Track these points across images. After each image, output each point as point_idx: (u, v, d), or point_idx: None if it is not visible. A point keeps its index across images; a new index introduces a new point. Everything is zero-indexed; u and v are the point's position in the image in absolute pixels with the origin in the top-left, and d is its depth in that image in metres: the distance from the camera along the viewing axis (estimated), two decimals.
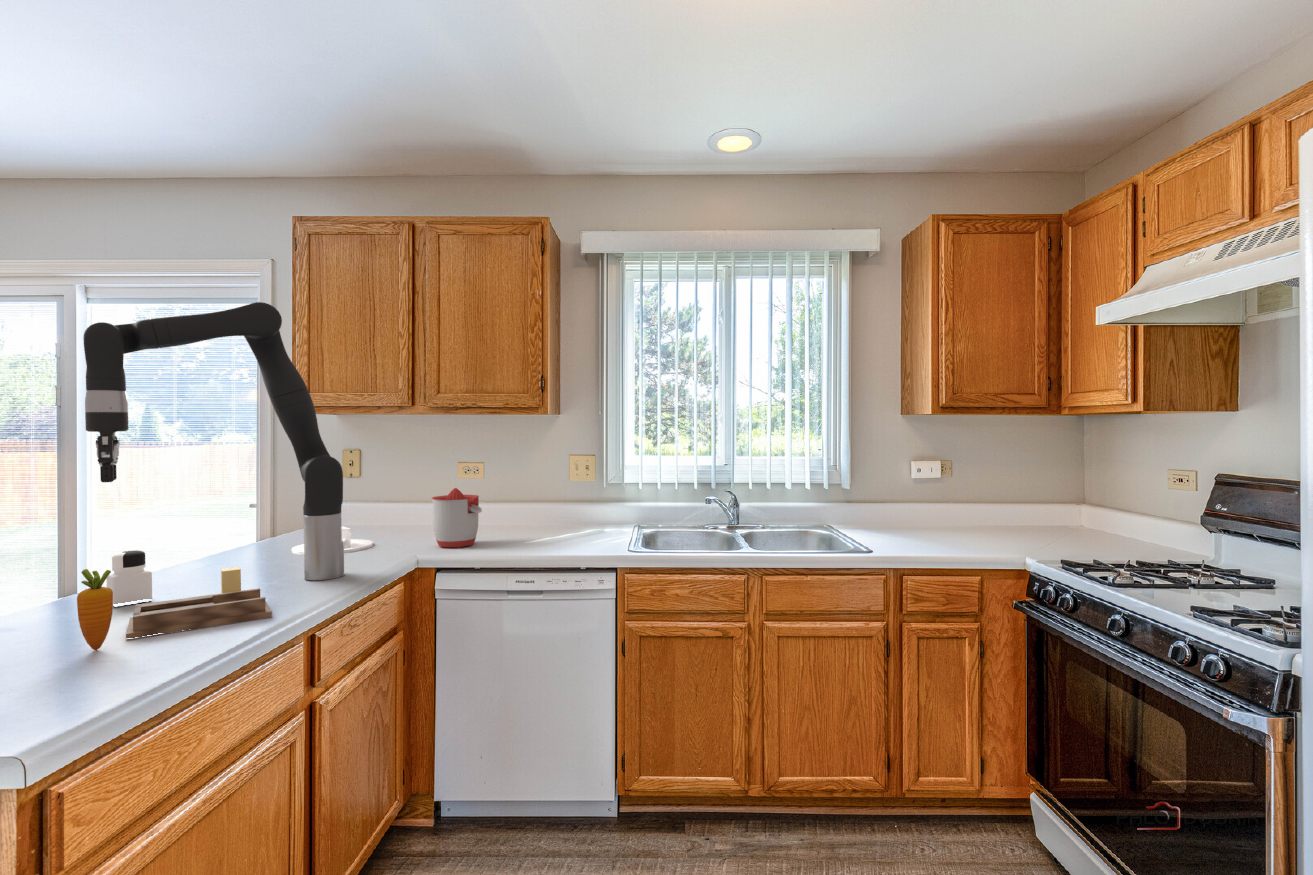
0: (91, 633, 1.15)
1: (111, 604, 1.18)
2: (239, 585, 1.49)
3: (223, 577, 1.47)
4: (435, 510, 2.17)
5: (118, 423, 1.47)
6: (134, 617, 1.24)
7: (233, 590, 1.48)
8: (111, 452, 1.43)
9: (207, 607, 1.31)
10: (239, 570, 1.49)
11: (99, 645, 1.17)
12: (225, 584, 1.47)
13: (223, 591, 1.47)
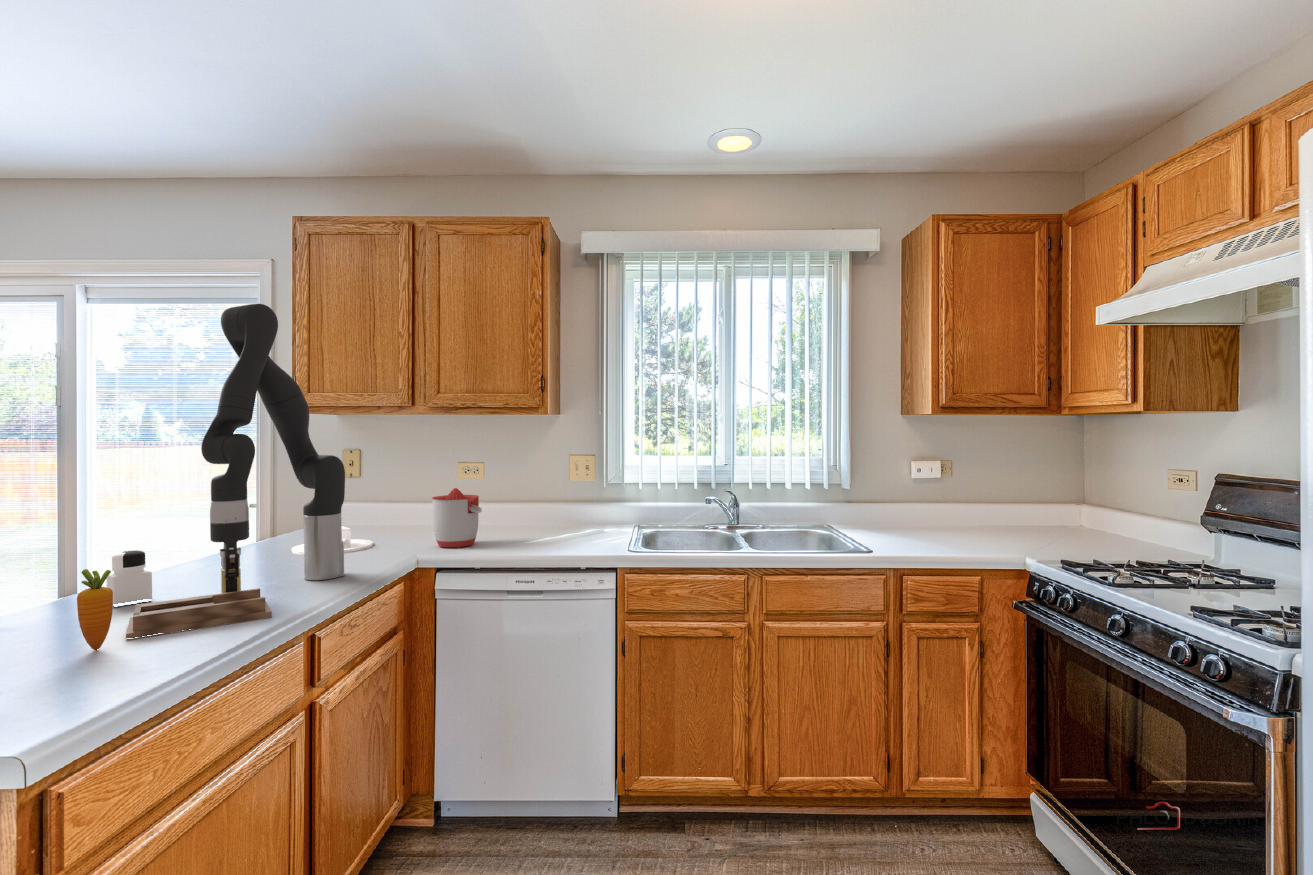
0: (91, 633, 1.15)
1: (111, 604, 1.18)
2: (239, 585, 1.49)
3: (223, 577, 1.47)
4: (435, 510, 2.17)
5: (241, 533, 1.48)
6: (134, 617, 1.24)
7: None
8: (237, 569, 1.46)
9: (207, 607, 1.31)
10: (239, 570, 1.49)
11: (99, 645, 1.17)
12: (225, 583, 1.47)
13: (223, 591, 1.47)
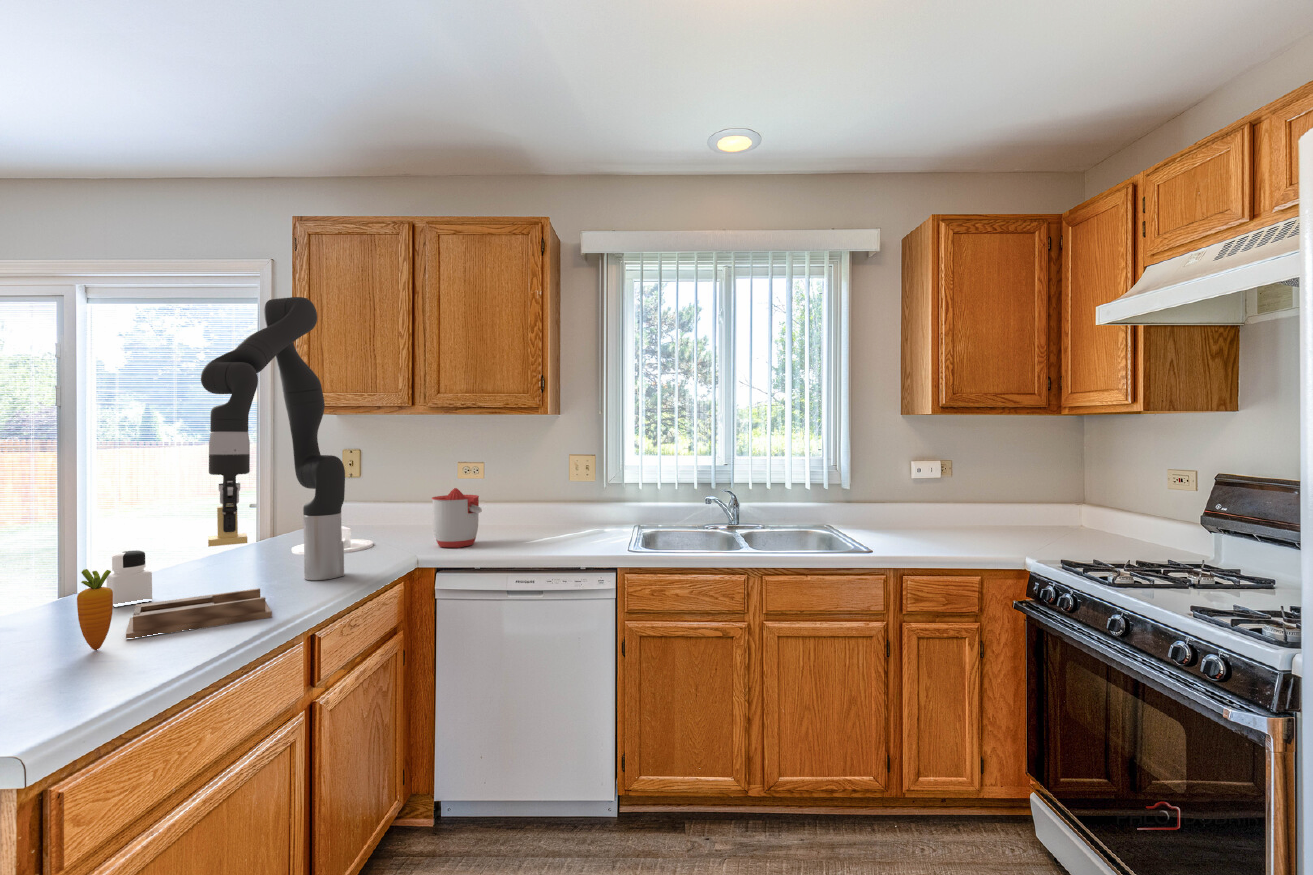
0: (91, 633, 1.15)
1: (111, 604, 1.18)
2: (236, 523, 1.41)
3: (219, 514, 1.39)
4: (435, 510, 2.17)
5: (241, 466, 1.40)
6: (134, 617, 1.24)
7: None
8: (235, 503, 1.38)
9: (207, 607, 1.31)
10: None
11: (99, 645, 1.17)
12: (221, 521, 1.39)
13: (218, 529, 1.39)
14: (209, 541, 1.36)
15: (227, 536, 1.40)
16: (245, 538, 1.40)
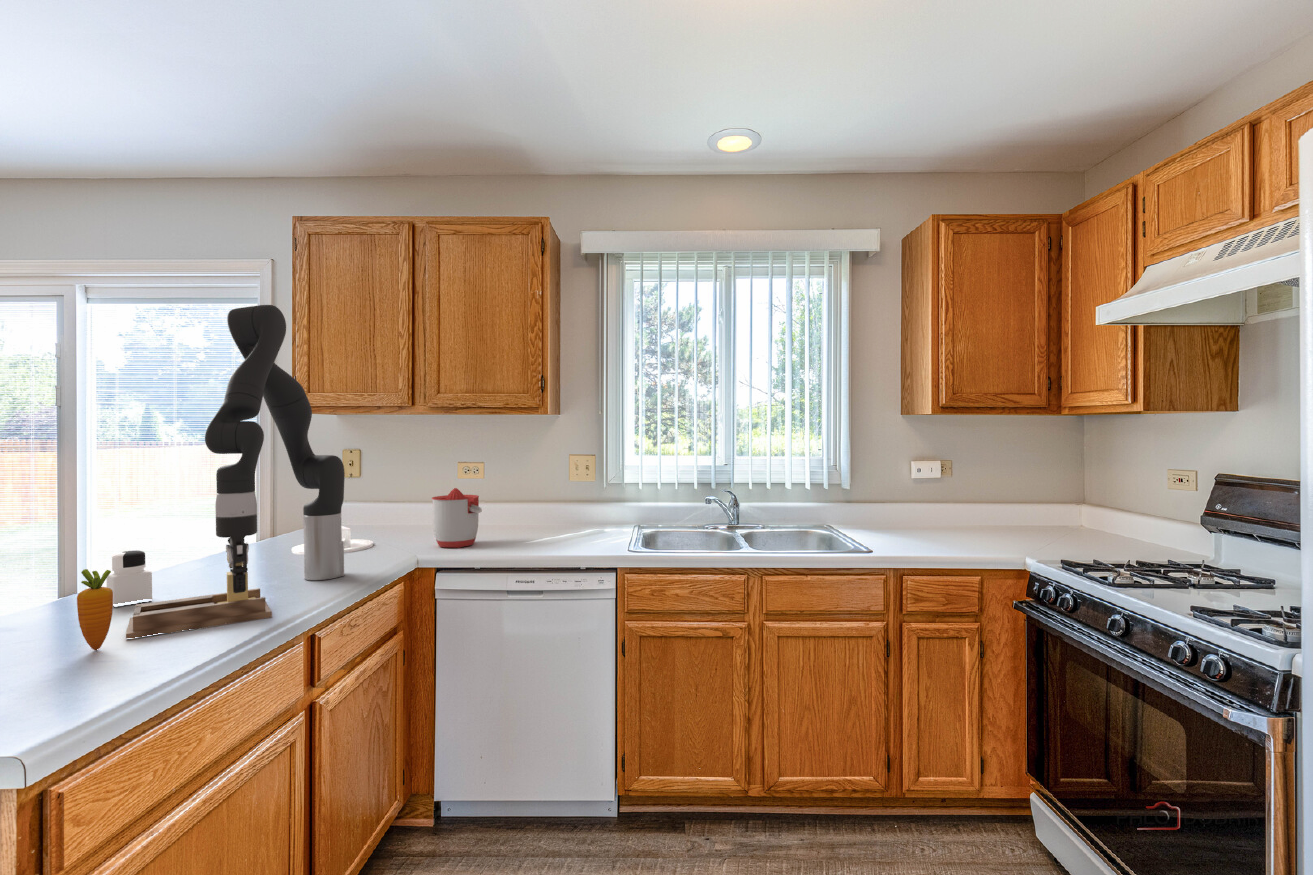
0: (91, 633, 1.15)
1: (111, 604, 1.18)
2: (246, 590, 1.39)
3: (229, 581, 1.37)
4: (435, 510, 2.17)
5: (249, 527, 1.38)
6: (134, 617, 1.24)
7: (240, 595, 1.38)
8: (245, 562, 1.34)
9: (207, 607, 1.31)
10: (246, 573, 1.39)
11: (99, 645, 1.17)
12: (231, 588, 1.37)
13: (229, 596, 1.37)
14: None
15: None
16: None
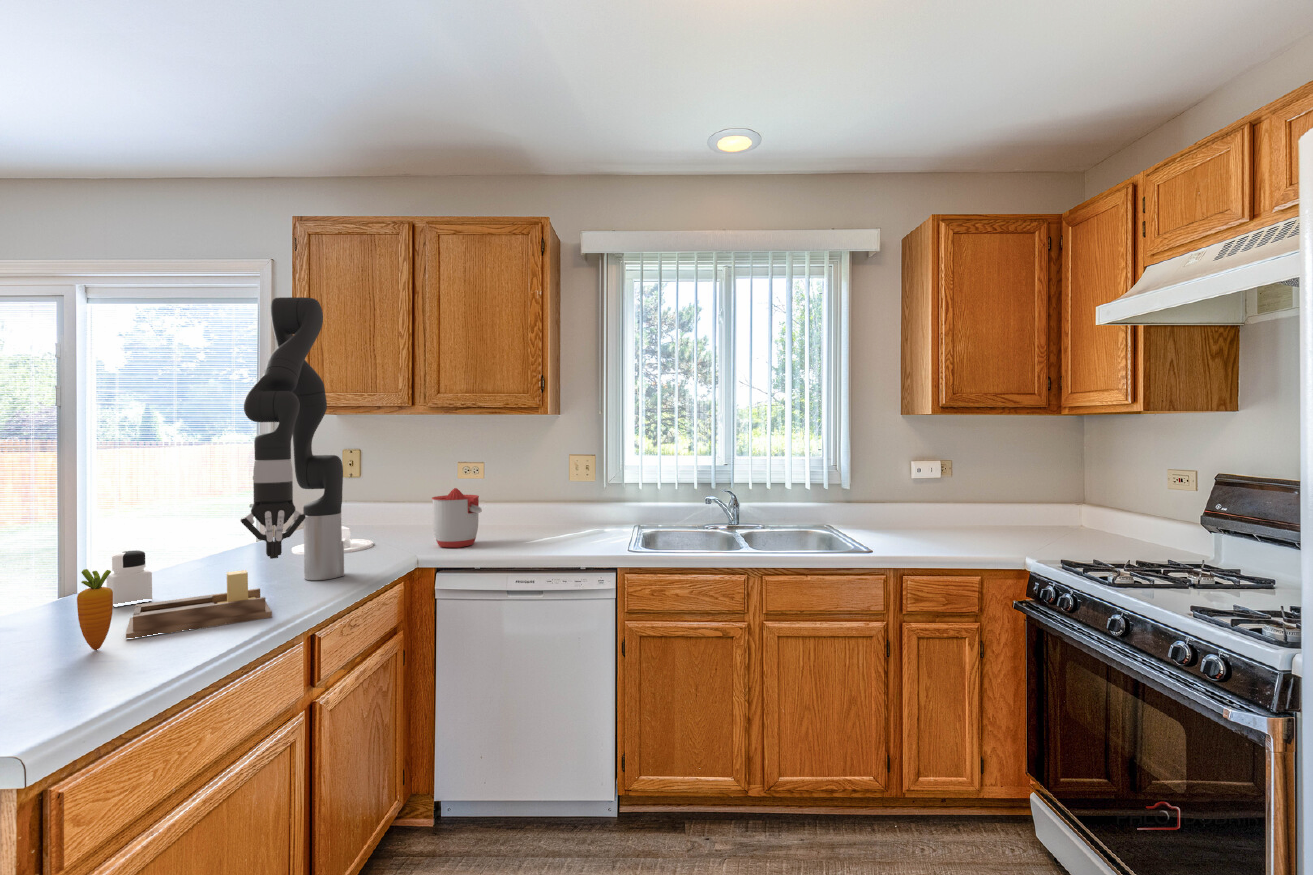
0: (91, 633, 1.15)
1: (111, 604, 1.18)
2: (246, 590, 1.39)
3: (229, 581, 1.37)
4: (435, 510, 2.17)
5: (257, 494, 1.40)
6: (134, 617, 1.24)
7: (240, 595, 1.38)
8: None
9: (207, 607, 1.31)
10: (246, 573, 1.39)
11: (99, 645, 1.17)
12: (231, 588, 1.37)
13: (229, 596, 1.37)
14: None
15: None
16: None
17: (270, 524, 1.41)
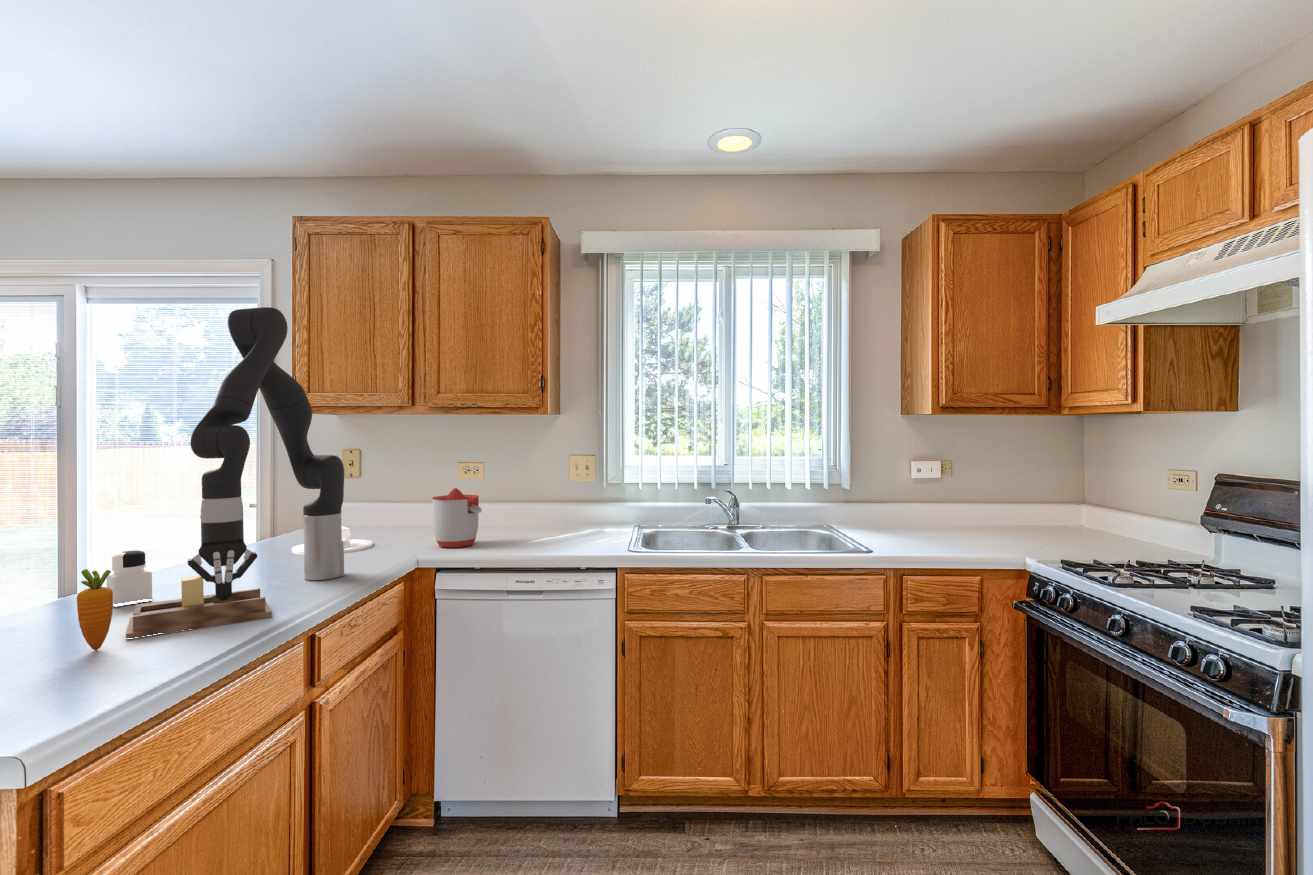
0: (91, 633, 1.15)
1: (111, 604, 1.18)
2: (201, 596, 1.34)
3: (183, 587, 1.32)
4: (435, 510, 2.17)
5: (205, 535, 1.34)
6: (134, 617, 1.24)
7: (195, 602, 1.33)
8: (200, 575, 1.34)
9: (207, 607, 1.31)
10: (201, 579, 1.34)
11: (99, 645, 1.17)
12: (186, 595, 1.32)
13: (183, 603, 1.32)
14: None
15: None
16: None
17: (219, 565, 1.36)
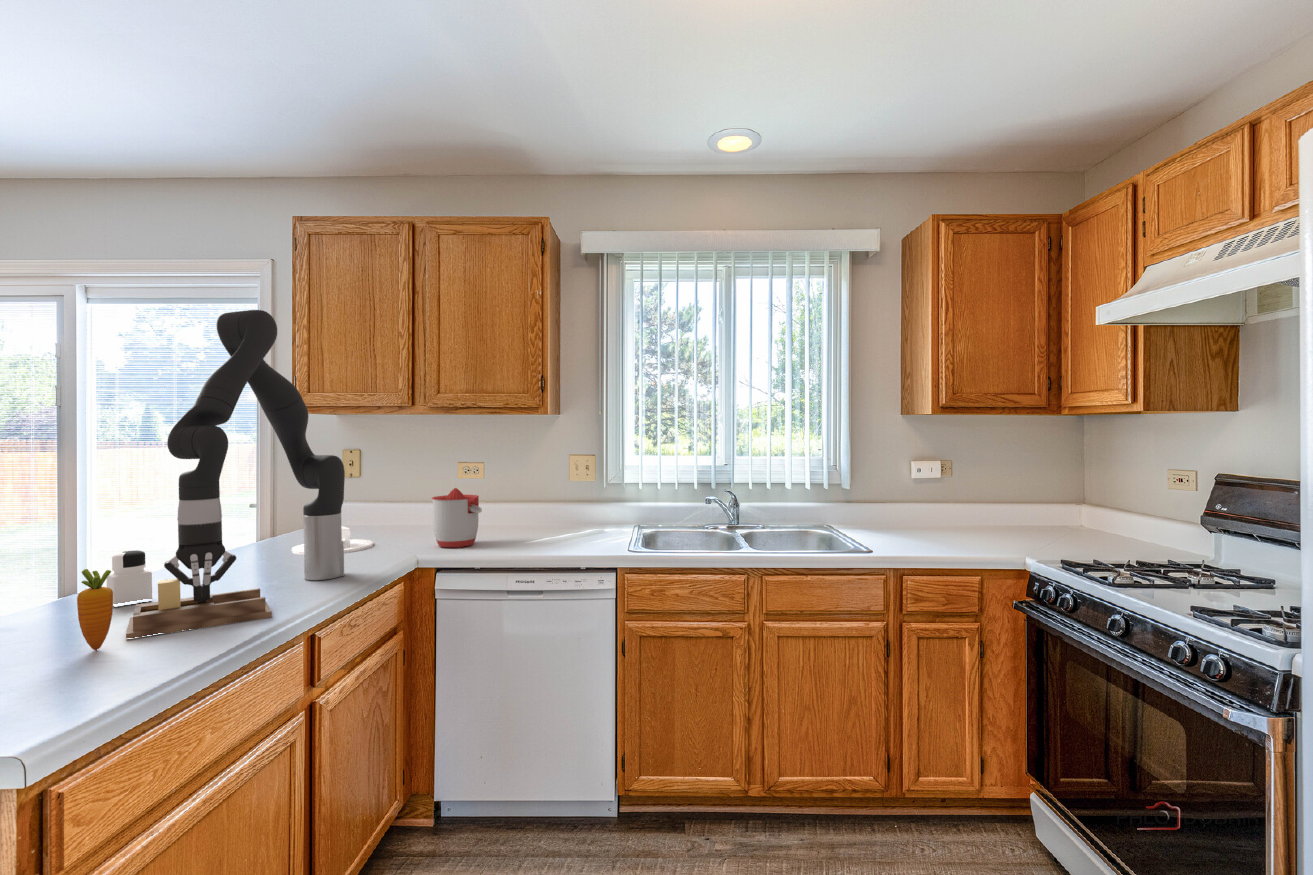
0: (91, 633, 1.15)
1: (111, 604, 1.18)
2: (178, 599, 1.31)
3: (159, 590, 1.30)
4: (435, 510, 2.17)
5: (182, 537, 1.32)
6: (134, 617, 1.24)
7: (171, 605, 1.31)
8: (177, 577, 1.32)
9: (207, 607, 1.31)
10: (178, 582, 1.31)
11: (99, 645, 1.17)
12: (162, 598, 1.30)
13: (159, 606, 1.30)
14: None
15: None
16: None
17: (196, 568, 1.33)
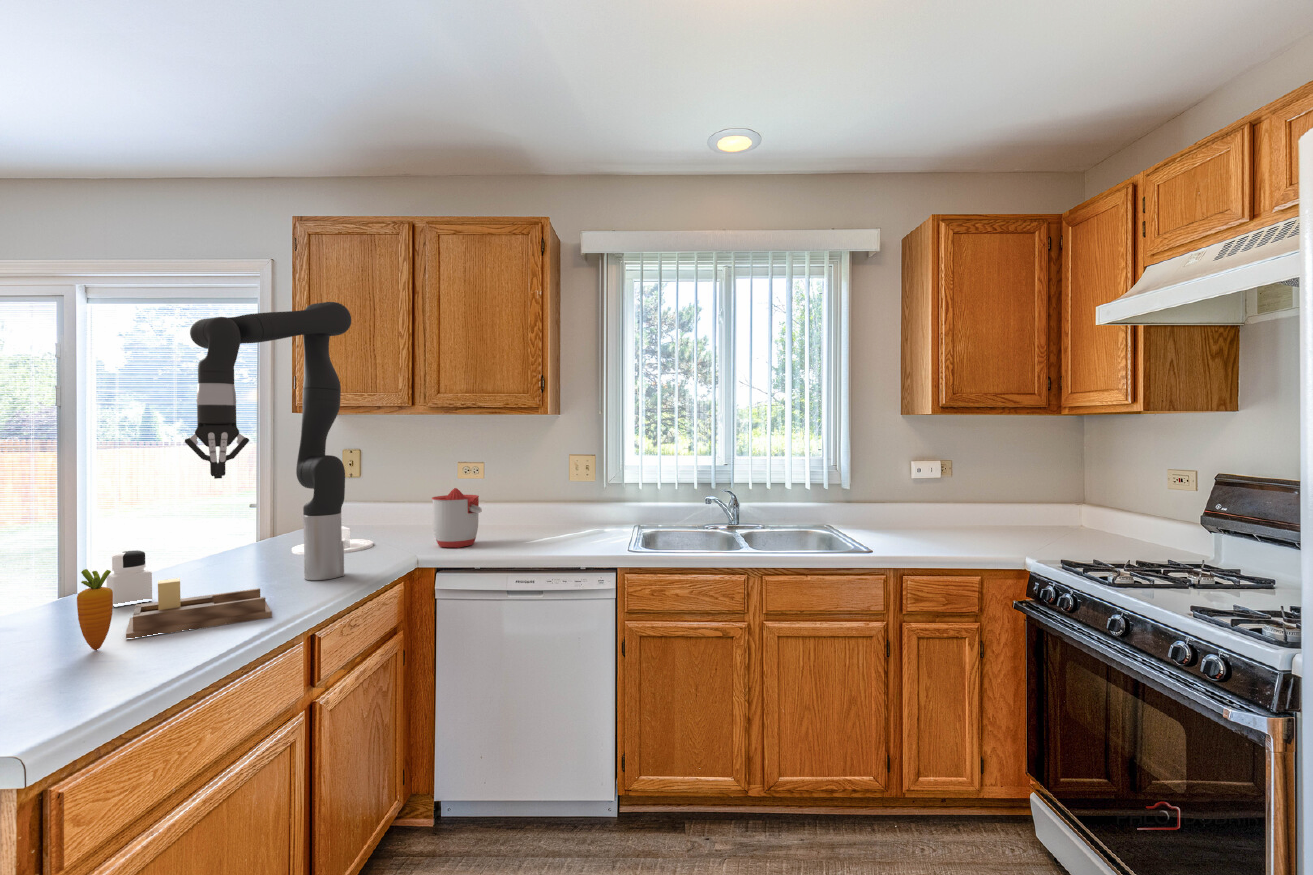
0: (91, 633, 1.15)
1: (111, 604, 1.18)
2: (178, 599, 1.31)
3: (159, 590, 1.30)
4: (435, 510, 2.17)
5: (200, 416, 1.46)
6: (134, 617, 1.24)
7: (171, 605, 1.31)
8: (196, 453, 1.46)
9: (207, 607, 1.31)
10: (178, 582, 1.31)
11: (99, 645, 1.17)
12: (162, 598, 1.30)
13: (159, 606, 1.30)
14: None
15: None
16: None
17: (213, 445, 1.48)
